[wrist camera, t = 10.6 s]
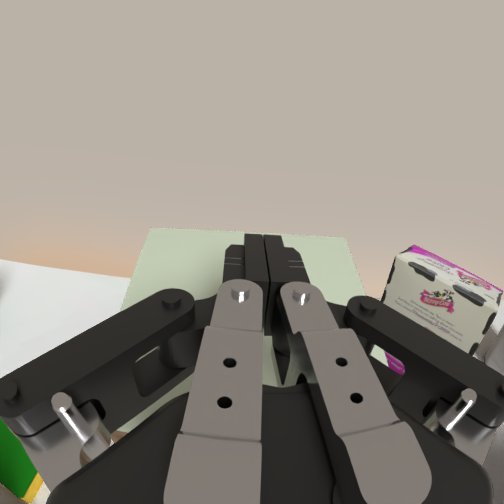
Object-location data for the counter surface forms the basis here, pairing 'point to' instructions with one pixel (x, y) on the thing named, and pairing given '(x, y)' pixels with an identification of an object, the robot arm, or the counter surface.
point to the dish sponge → (17, 467)
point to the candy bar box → (440, 299)
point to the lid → (211, 275)
